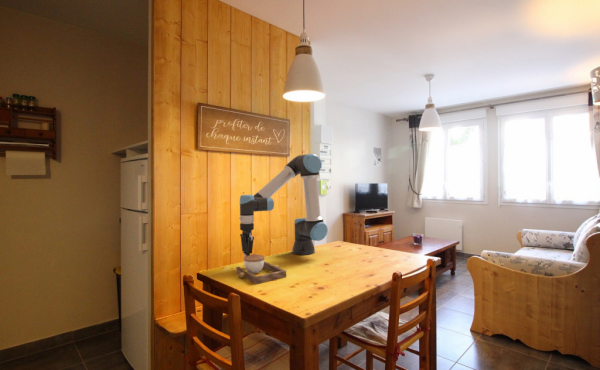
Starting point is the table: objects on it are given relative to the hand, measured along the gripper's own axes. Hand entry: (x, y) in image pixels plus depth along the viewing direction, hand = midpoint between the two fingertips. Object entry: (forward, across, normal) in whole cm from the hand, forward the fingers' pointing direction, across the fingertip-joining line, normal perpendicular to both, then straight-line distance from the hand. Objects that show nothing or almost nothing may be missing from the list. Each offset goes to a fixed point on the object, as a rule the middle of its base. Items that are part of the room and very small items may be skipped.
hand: (247, 265), depth 165 cm
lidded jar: (+2, +8, 0) cm, 8 cm away
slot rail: (+2, +14, 0) cm, 14 cm away
